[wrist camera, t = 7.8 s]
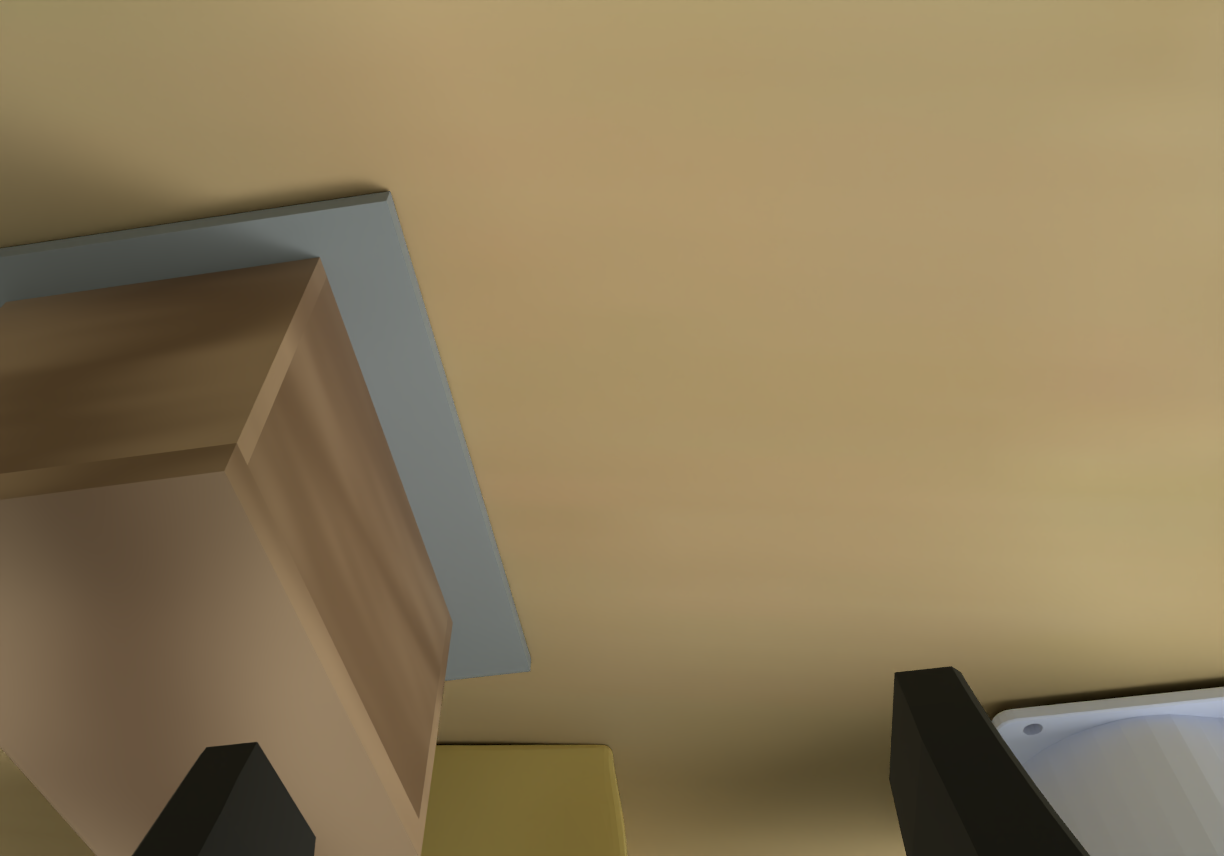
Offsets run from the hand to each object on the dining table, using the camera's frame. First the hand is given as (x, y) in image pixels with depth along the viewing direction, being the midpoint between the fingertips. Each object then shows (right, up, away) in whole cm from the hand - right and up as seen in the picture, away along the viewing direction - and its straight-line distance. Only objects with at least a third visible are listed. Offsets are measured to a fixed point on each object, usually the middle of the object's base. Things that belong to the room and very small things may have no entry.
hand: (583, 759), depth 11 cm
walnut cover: (-7, +3, +10) cm, 12 cm away
